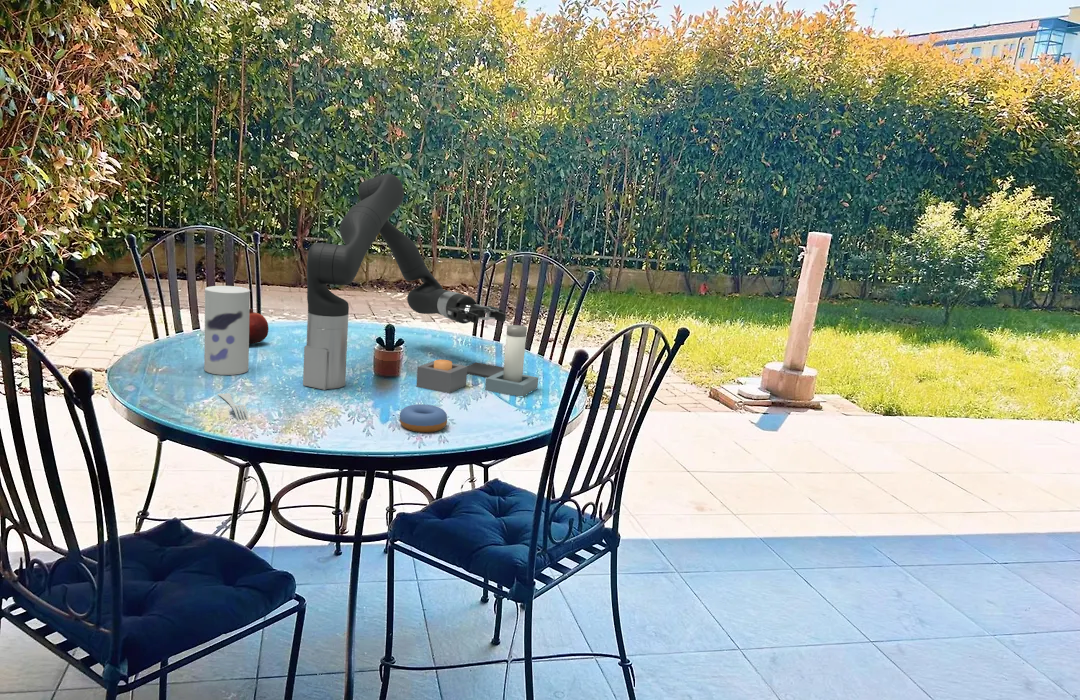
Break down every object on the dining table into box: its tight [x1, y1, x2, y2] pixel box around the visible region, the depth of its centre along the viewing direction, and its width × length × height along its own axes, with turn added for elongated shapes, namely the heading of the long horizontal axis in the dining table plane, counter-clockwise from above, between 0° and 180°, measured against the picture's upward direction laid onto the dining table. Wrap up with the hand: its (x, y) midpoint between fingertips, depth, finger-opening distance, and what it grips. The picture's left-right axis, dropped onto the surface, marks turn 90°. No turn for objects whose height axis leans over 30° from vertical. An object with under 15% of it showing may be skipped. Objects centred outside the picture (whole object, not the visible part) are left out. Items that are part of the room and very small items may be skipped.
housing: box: [484, 371, 539, 397], centre depth 209 cm, size 10×10×3 cm
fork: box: [217, 392, 249, 422], centre depth 176 cm, size 3×21×3 cm, turn 31°
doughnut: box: [399, 403, 448, 433], centre depth 174 cm, size 10×10×5 cm
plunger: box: [433, 359, 453, 371], centre depth 206 cm, size 4×4×6 cm
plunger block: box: [415, 360, 468, 394], centre depth 206 cm, size 9×9×5 cm
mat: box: [466, 362, 504, 378], centre depth 225 cm, size 11×11×1 cm
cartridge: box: [503, 324, 528, 383], centre depth 208 cm, size 5×5×16 cm
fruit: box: [249, 308, 269, 345], centre depth 229 cm, size 11×10×10 cm
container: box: [203, 285, 251, 376], centre depth 200 cm, size 10×10×20 cm
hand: (491, 318), depth 215 cm, fingers open, 8 cm apart
